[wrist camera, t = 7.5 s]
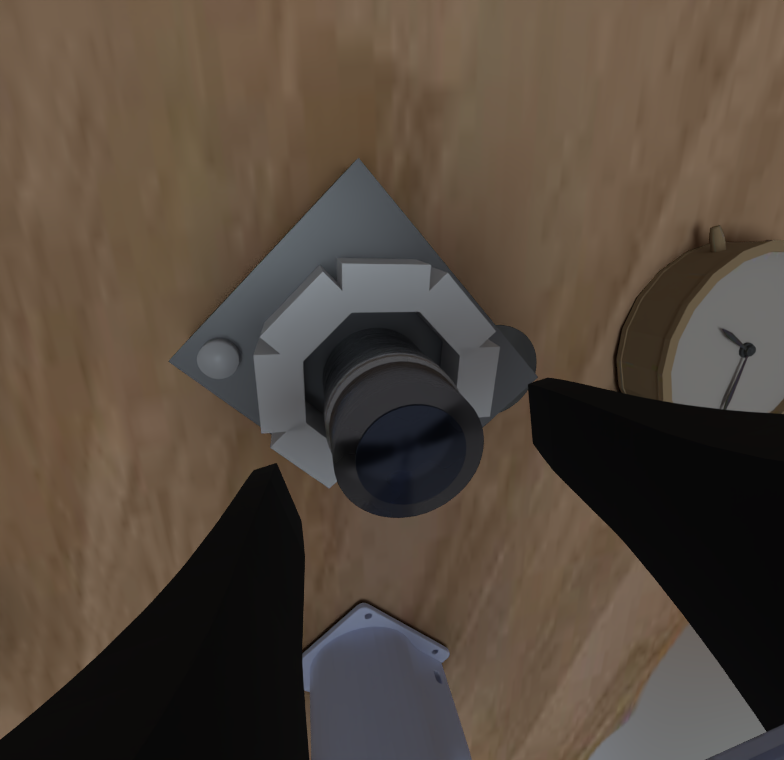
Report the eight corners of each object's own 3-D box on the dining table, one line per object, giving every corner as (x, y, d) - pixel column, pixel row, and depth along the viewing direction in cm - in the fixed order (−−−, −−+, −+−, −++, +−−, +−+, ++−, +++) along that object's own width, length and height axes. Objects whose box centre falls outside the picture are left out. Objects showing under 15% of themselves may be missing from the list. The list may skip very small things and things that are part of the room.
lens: (415, 311, 16) (477, 360, 10) (435, 408, 18) (498, 494, 12) (304, 343, 15) (306, 413, 10) (338, 439, 17) (355, 543, 12)
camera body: (507, 356, 21) (564, 394, 17) (375, 479, 22) (394, 546, 18) (348, 167, 16) (367, 148, 12) (188, 338, 17) (149, 381, 13)
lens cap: (544, 367, 23) (552, 372, 22) (475, 425, 23) (481, 432, 23) (497, 301, 21) (504, 304, 20) (423, 367, 21) (427, 372, 20)
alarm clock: (876, 255, 20) (784, 518, 23) (767, 263, 25) (701, 480, 28) (717, 209, 17) (632, 517, 20) (627, 228, 22) (568, 475, 25)
